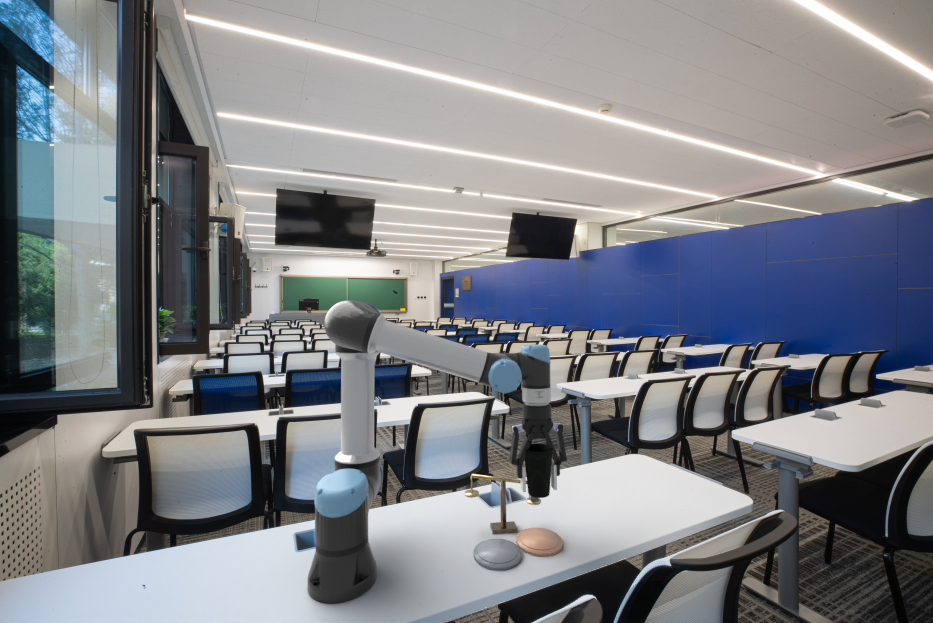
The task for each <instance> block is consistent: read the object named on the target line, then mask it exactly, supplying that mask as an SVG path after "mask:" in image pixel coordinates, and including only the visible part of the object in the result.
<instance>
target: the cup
mask: <svg viewBox="0 0 933 623" xmlns="http://www.w3.org/2000/svg"><path fill="white" fill-rule="evenodd" d="M552 450H553V449H552V448H551V450H549V449H548V447H547V445H546V443H545V444H544V443H537V442H536V443H531V444H530V446H529V449H528V450H525V452H526V457H525V460H524V466H525V471H526V480H527V484H526V485H527V486H526V487H527V493H528V496H529V495H530V496H532V497H536V498H540V499H542V498H548V497H549V496H550V492H551V491H550V490H551V464H552V462H553V458H552Z"/></svg>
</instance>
